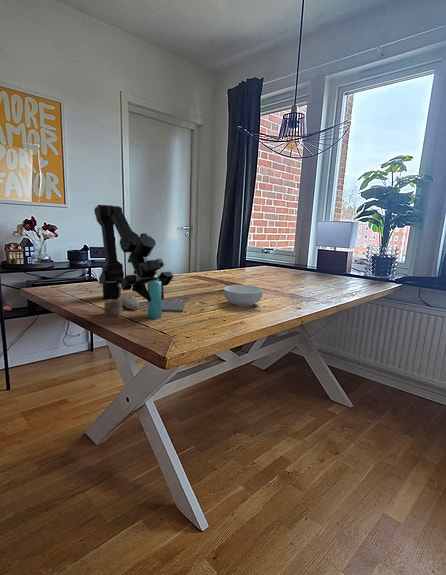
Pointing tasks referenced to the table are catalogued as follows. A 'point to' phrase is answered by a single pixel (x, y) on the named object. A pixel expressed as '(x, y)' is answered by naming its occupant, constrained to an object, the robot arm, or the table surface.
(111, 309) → the walnut block
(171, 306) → the charcoal mat
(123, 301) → the decorative stone
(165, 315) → the table surface
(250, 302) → the cereal bowl
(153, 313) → the teal tall cylinder
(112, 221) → the robot arm
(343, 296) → the table surface
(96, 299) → the table surface
